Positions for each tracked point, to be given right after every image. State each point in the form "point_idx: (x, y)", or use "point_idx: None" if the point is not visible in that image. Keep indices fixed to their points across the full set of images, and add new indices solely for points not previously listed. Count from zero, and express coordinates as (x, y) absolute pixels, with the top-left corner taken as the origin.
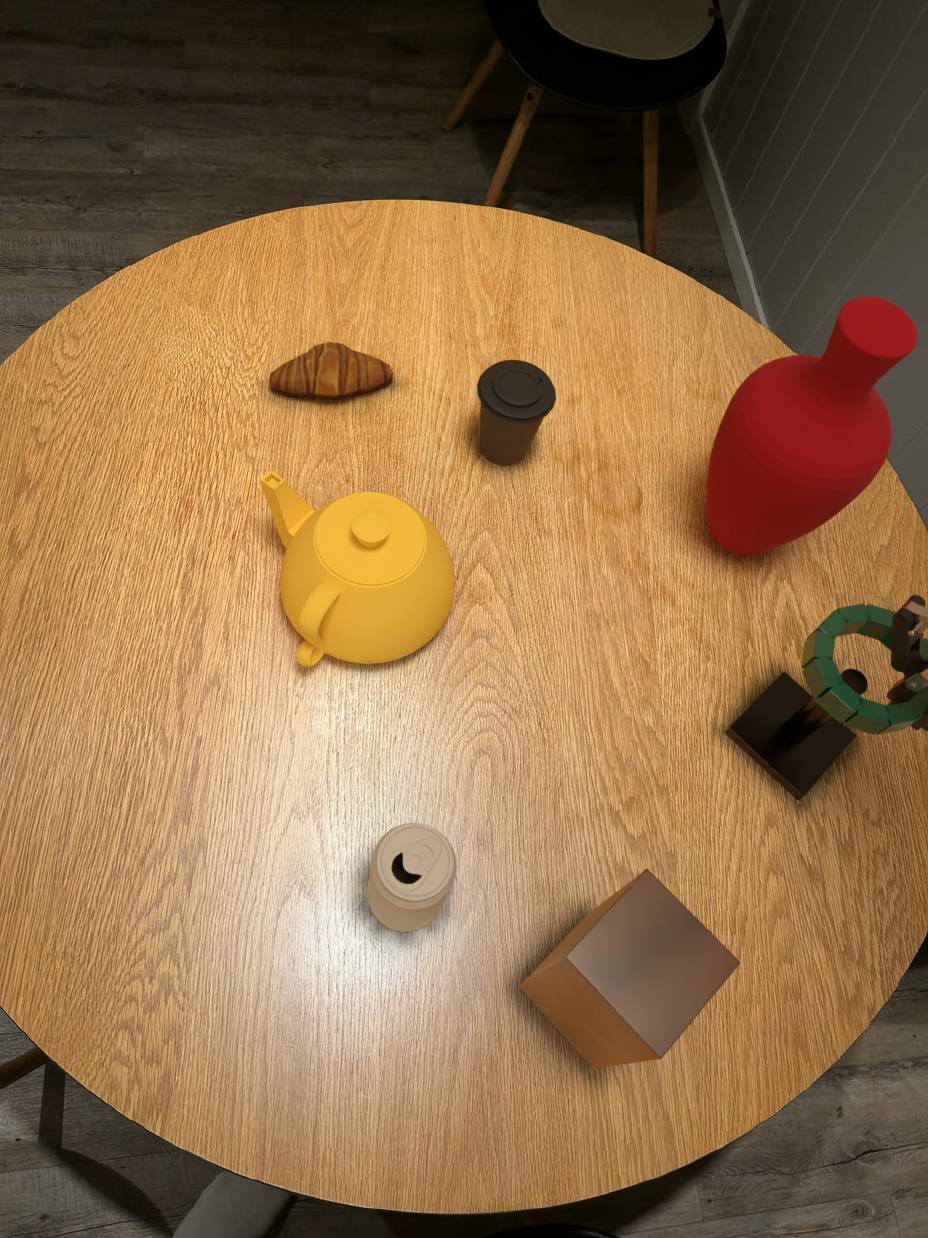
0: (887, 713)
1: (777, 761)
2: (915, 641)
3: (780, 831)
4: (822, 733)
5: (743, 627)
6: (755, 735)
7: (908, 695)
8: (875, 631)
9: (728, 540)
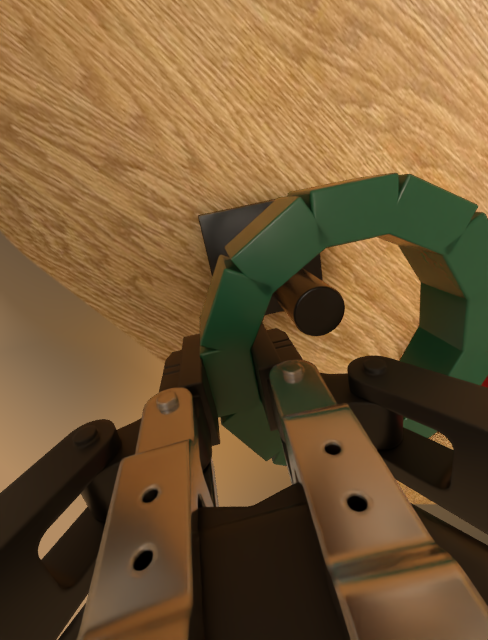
0: (256, 277)
1: (249, 218)
2: (417, 463)
3: (178, 166)
4: None
5: (380, 299)
6: None
7: (266, 354)
8: None
9: None
